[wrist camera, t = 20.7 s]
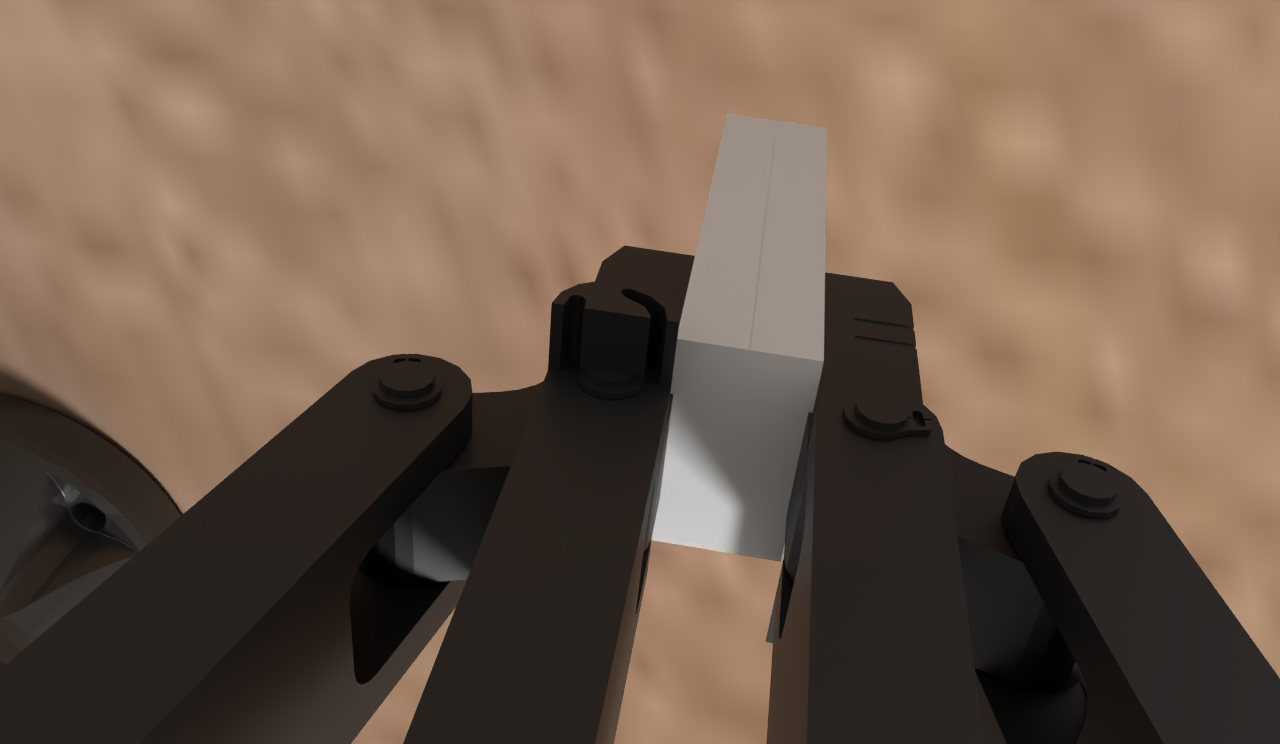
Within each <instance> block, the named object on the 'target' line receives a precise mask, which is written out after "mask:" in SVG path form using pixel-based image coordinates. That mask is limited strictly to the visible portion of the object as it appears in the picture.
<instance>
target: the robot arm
mask: <svg viewBox="0 0 1280 744" xmlns="http://www.w3.org/2000/svg"><path fill="white" fill-rule="evenodd" d="M826 159H827V128H826V127H819V126H812V125H805V124H798V123H790V122H783V121H776V120H769V119H762V118H754V117H747V116H740V115H733V114H727V117H726V121H725V126H724V130H723V135H722V139H721V143H720V148H719V152H718V157H717V161H716V165H715V170H714V174H713V179H712V183H711V188H710V192H709V196H708V201H707V205H706V210H705V214H704V218H703V223H702V227H701V232H700V236H699V241H698V245H697V249H696V254H695V256H691V255H684V254H678V253H671V252H664V251H658V250H651V249H644V248H637V247H631V246H624V247H622V248H621V249H619V250H618V251H617V252H615V253H614V254H612V255H611V256H609V257H608V258H607V259H605V260H604V261H603V262H602V264H601V267H600V270H599V272H598V275H597V278H596V280H595V282H590V283H583V284H578V285H576V286H574V287H571V288H569V289H567V290H565V291H562V292H561V293H560V294H559V295H558V296H557V298H556V299H555V300H554V301H553V302H552V309H551V327H550V346H549V364H548V372H547V374H546V377H545V379H544V381H543V382H541V383H539V384H537V385H534V386H531V387H527V388H523V389H520V390H512V391H504V392H487V393H472V387H471V380H470V378H469V377H468V376H467V375H466V374H465V373H464V372H463V371H462V370H461V369H460V367H458V366H456V365H454V364H452V363H450V362H447V361H445V360H443V359H441V358H437V357H431V356H426V355H420V354H400V355H391V356H387V357H383V358H379V359H375V360H371V361H369V362H367V363H365V364H364V365H362V366H360V367H358V368H357V369H355V370H353V371H352V372H351V373H349V374H348V375H347V376H346V377H345V378H343V379H342V380H341V381H340V382H339V383H338V384H336V385H335V386H334V387H333V388H332V389H330V390H329V391H328V392H327V393H326V394H325V395H323V396H322V397H321V398H320V399H319V400H317V401H316V402H315V403H314V404H313V405H312V406H310V407H309V408H308V409H307V410H306V411H305V412H303V413H302V414H301V415H300V416H299V417H297V418H296V419H295V420H294V421H293V422H292V423H290V424H289V425H288V426H287V427H286V428H284V429H283V430H282V431H281V432H280V433H279V434H277V435H276V436H275V437H274V438H273V439H271V440H270V441H269V442H268V443H267V444H266V445H264V446H263V447H262V448H261V449H260V450H259V451H257V452H256V453H255V454H254V455H253V456H251V457H250V458H249V459H248V460H247V461H246V462H244V463H243V464H242V465H241V466H240V467H238V468H237V469H236V470H235V471H234V472H233V473H231V474H230V475H229V476H228V477H227V478H225V479H224V480H223V481H222V482H221V483H220V484H218V485H217V486H216V487H215V488H214V489H212V490H211V491H210V492H209V493H208V494H207V495H205V496H204V497H203V498H202V499H201V500H200V501H198V502H197V503H196V504H195V505H194V506H192V507H191V508H190V509H189V510H188V511H187V512H185V513H184V514H183V515H182V516H181V515H180V513H179V512H178V510H177V509H176V507H175V506H174V505H173V503H172V502H171V501H170V499H169V498H168V497H167V496H166V494H165V493H164V492H163V491H162V490H161V488H160V487H159V486H158V485H157V484H156V483H155V482H154V481H153V480H152V479H151V478H150V477H149V476H148V475H147V474H146V473H145V472H144V471H143V470H142V469H141V468H140V467H139V466H138V465H137V464H136V463H134V462H133V461H132V460H131V459H130V458H128V457H127V456H126V455H125V454H124V453H122V452H121V451H120V450H118V449H117V448H116V447H114V446H113V445H112V444H110V443H109V442H107V441H106V440H104V439H103V438H101V437H100V436H98V435H97V434H95V433H94V432H92V431H90V430H89V429H87V428H85V427H84V426H82V425H80V424H78V423H76V422H74V421H72V420H71V419H68V418H66V417H64V416H62V415H60V414H58V413H56V412H53V411H51V410H49V409H46V408H44V407H41V406H38V405H36V404H33V403H30V402H27V401H24V400H20V399H17V398H13V397H9V396H5V395H0V744H351V743H352V741H353V740H354V739H355V738H356V736H357V735H358V734H359V732H360V731H361V730H362V728H363V727H364V726H365V725H366V723H367V722H368V721H369V719H370V718H371V717H372V715H373V714H374V713H375V711H376V710H377V709H378V708H379V706H380V705H381V704H382V702H383V701H384V700H385V698H386V697H387V696H388V695H389V693H390V692H391V691H392V689H393V688H394V687H395V685H396V684H397V683H398V681H399V680H400V679H401V678H402V676H403V675H404V674H405V672H406V671H407V670H408V668H409V667H410V666H411V665H412V663H413V662H414V661H415V659H416V658H417V657H418V655H419V654H420V653H421V652H422V650H423V649H424V648H425V646H426V645H427V644H428V642H429V641H430V640H431V638H432V637H433V636H434V635H435V633H436V632H437V631H438V629H439V628H440V627H441V625H442V624H443V623H444V622H445V620H446V619H447V618H448V616H449V615H450V614H451V612H452V611H453V610H454V609H455V607H456V609H455V611H454V614H453V617H452V619H451V622H450V624H449V627H448V629H447V632H446V635H445V637H444V640H443V642H442V645H441V647H440V650H439V653H438V655H437V658H436V660H435V663H434V666H433V668H432V671H431V673H430V676H429V678H428V681H427V684H426V686H425V689H424V691H423V694H422V696H421V699H420V702H419V704H418V707H417V709H416V712H415V714H414V717H413V720H412V722H411V725H410V727H409V730H408V733H407V735H406V738H405V740H404V743H403V744H614V739H615V734H616V729H617V724H618V719H619V713H620V708H621V703H622V698H623V693H624V688H625V683H626V678H627V673H628V668H629V663H630V658H631V652H632V647H633V642H634V637H635V632H636V627H637V622H638V617H639V612H640V607H641V602H642V596H643V591H644V586H645V581H646V576H647V571H648V563H649V555H650V547H651V540H655V541H661V542H667V543H673V544H679V545H685V546H691V547H697V548H703V549H709V550H715V551H721V552H727V553H733V554H739V555H745V556H751V557H757V558H763V559H769V560H775V561H781V557H782V552H783V548H784V543H785V550H784V560H783V565H782V569H781V574H780V578H779V583H778V587H777V592H776V597H775V601H774V606H773V610H772V615H771V620H770V624H769V629H768V633H767V638H766V642H770V643H773V653H772V668H771V684H770V699H769V715H768V731H767V744H1280V678H1279V677H1278V675H1277V674H1276V673H1275V671H1274V670H1273V669H1272V667H1271V666H1270V664H1269V663H1268V662H1267V660H1266V659H1265V657H1264V656H1263V655H1262V653H1261V652H1260V650H1259V649H1258V648H1257V646H1256V645H1255V643H1254V642H1253V641H1252V639H1251V638H1250V636H1249V635H1248V634H1247V632H1246V631H1245V629H1244V628H1243V627H1242V625H1241V624H1240V622H1239V621H1238V620H1237V618H1236V617H1235V616H1234V614H1233V613H1232V611H1231V610H1230V609H1229V607H1228V606H1227V604H1226V603H1225V602H1224V600H1223V599H1222V597H1221V596H1220V595H1219V593H1218V592H1217V590H1216V589H1215V588H1214V586H1213V585H1212V583H1211V582H1210V581H1209V579H1208V578H1207V576H1206V575H1205V574H1204V572H1203V571H1202V569H1201V568H1200V567H1199V565H1198V564H1197V562H1196V561H1195V560H1194V558H1193V557H1192V556H1191V554H1190V553H1189V551H1188V550H1187V549H1186V547H1185V546H1184V544H1183V543H1182V542H1181V540H1180V539H1179V537H1178V536H1177V535H1176V533H1175V532H1174V530H1173V529H1172V528H1171V526H1170V525H1169V523H1168V522H1167V521H1166V519H1165V518H1164V516H1163V515H1162V514H1161V512H1160V511H1159V509H1158V508H1157V507H1156V505H1155V504H1154V503H1153V501H1152V500H1151V498H1150V497H1149V496H1148V494H1147V493H1146V492H1145V491H1144V490H1143V489H1142V488H1141V487H1140V486H1139V485H1138V484H1137V483H1136V482H1135V481H1134V480H1133V479H1132V478H1131V477H1129V476H1127V475H1126V474H1124V473H1122V472H1121V471H1119V470H1117V469H1116V468H1114V467H1112V466H1111V465H1109V464H1107V463H1104V462H1102V461H1100V460H1097V459H1096V460H1095V459H1092V458H1091V457H1087V456H1084V455H1079V454H1071V453H1064V452H1050V453H1042V454H1035V455H1034V456H1032V457H1030V458H1028V459H1027V460H1025V461H1023V462H1022V463H1021V464H1020V466H1019V469H1018V471H1017V473H1016V476H1015V477H1014V476H1011V475H1008V474H1006V473H1003V472H1000V471H997V470H995V469H992V468H989V467H986V466H984V465H981V464H979V463H977V462H974V461H972V460H970V459H968V458H965V457H963V456H962V455H960V454H959V453H957V452H955V451H954V450H952V449H951V448H949V447H948V446H947V445H945V443H944V435H943V430H942V428H941V426H940V423H939V421H938V419H937V417H936V416H935V415H934V414H933V413H932V412H931V411H930V410H929V409H928V408H927V407H925V406H924V405H923V400H922V391H921V383H920V374H919V366H918V357H917V349H915V347H916V341H915V332H914V331H913V328H914V324H913V315H912V307H911V304H910V302H909V301H908V300H907V299H906V298H905V296H904V295H903V294H902V293H901V292H900V290H899V289H898V288H897V287H896V286H895V284H894V283H893V282H886V281H879V280H873V279H866V278H859V277H852V276H846V275H839V274H832V273H825V234H826Z"/></svg>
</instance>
